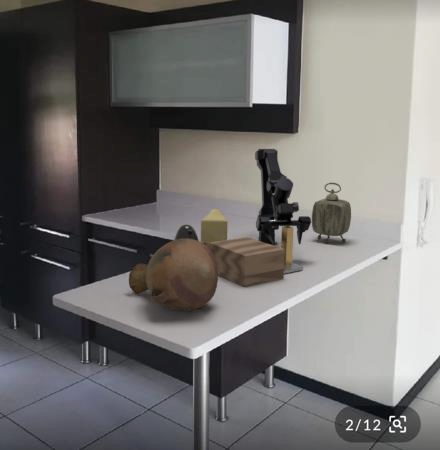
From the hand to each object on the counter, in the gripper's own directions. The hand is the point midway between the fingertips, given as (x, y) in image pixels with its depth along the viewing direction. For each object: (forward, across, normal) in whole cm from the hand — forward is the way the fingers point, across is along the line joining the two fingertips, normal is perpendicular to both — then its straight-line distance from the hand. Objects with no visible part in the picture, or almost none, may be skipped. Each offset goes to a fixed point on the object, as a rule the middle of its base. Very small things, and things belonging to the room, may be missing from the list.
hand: (287, 243), depth 195 cm
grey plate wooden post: (+9, -10, +2) cm, 14 cm away
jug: (+30, -42, -17) cm, 54 cm away
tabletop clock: (-19, +27, +30) cm, 45 cm away
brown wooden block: (+12, -16, 0) cm, 20 cm away
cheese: (-11, -23, +23) cm, 34 cm away
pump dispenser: (+5, -35, +7) cm, 36 cm away
